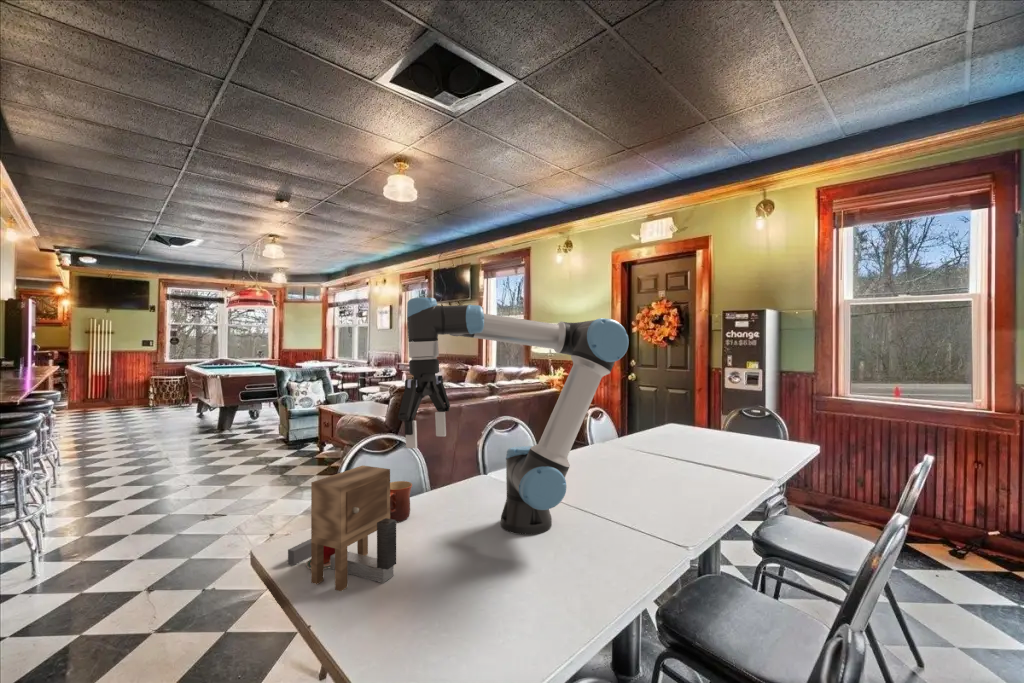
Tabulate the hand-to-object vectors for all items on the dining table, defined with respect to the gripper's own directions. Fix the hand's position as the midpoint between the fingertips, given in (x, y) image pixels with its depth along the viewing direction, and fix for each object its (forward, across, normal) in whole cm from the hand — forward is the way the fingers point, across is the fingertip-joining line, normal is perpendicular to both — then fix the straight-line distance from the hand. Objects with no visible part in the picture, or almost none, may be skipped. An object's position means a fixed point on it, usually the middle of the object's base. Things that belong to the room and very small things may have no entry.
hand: (427, 441), depth 114 cm
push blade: (+28, +14, -10) cm, 33 cm away
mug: (+29, -16, -23) cm, 40 cm away
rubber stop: (+28, +13, -29) cm, 42 cm away
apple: (+28, +13, -22) cm, 38 cm away
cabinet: (+28, +14, -13) cm, 34 cm away
